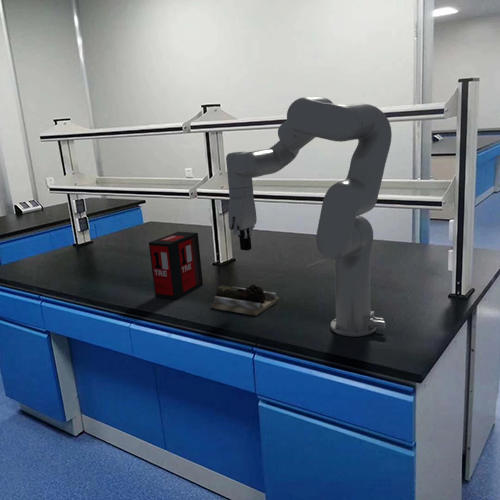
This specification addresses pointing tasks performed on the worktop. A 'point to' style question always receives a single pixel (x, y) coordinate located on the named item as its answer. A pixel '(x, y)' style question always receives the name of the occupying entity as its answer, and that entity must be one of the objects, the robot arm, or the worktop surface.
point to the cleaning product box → (176, 265)
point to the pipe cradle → (244, 304)
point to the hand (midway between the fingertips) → (246, 249)
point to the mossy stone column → (242, 293)
